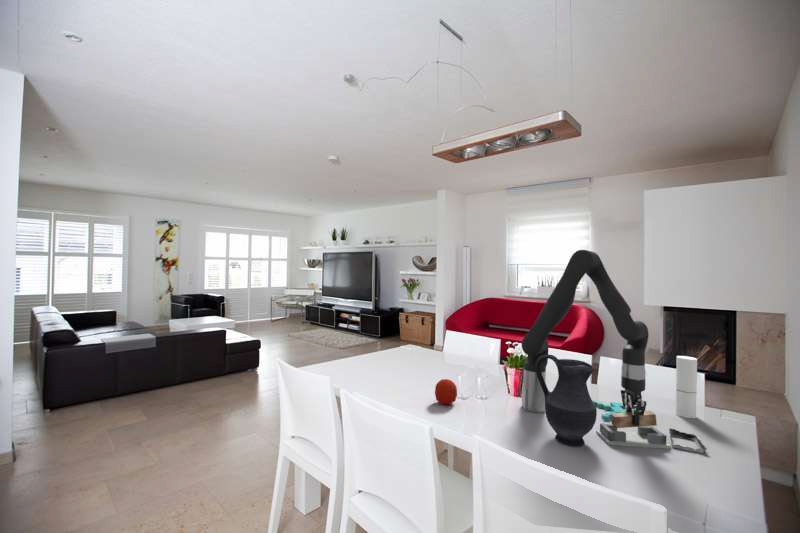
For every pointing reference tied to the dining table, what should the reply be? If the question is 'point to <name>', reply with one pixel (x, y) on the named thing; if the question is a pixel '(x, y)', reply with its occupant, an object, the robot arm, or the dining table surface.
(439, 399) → the apple
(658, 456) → the dining table surface
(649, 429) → the end caps
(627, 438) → the cradle board
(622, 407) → the alien figure
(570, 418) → the pitcher
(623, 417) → the slat
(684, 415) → the cylindrical container
